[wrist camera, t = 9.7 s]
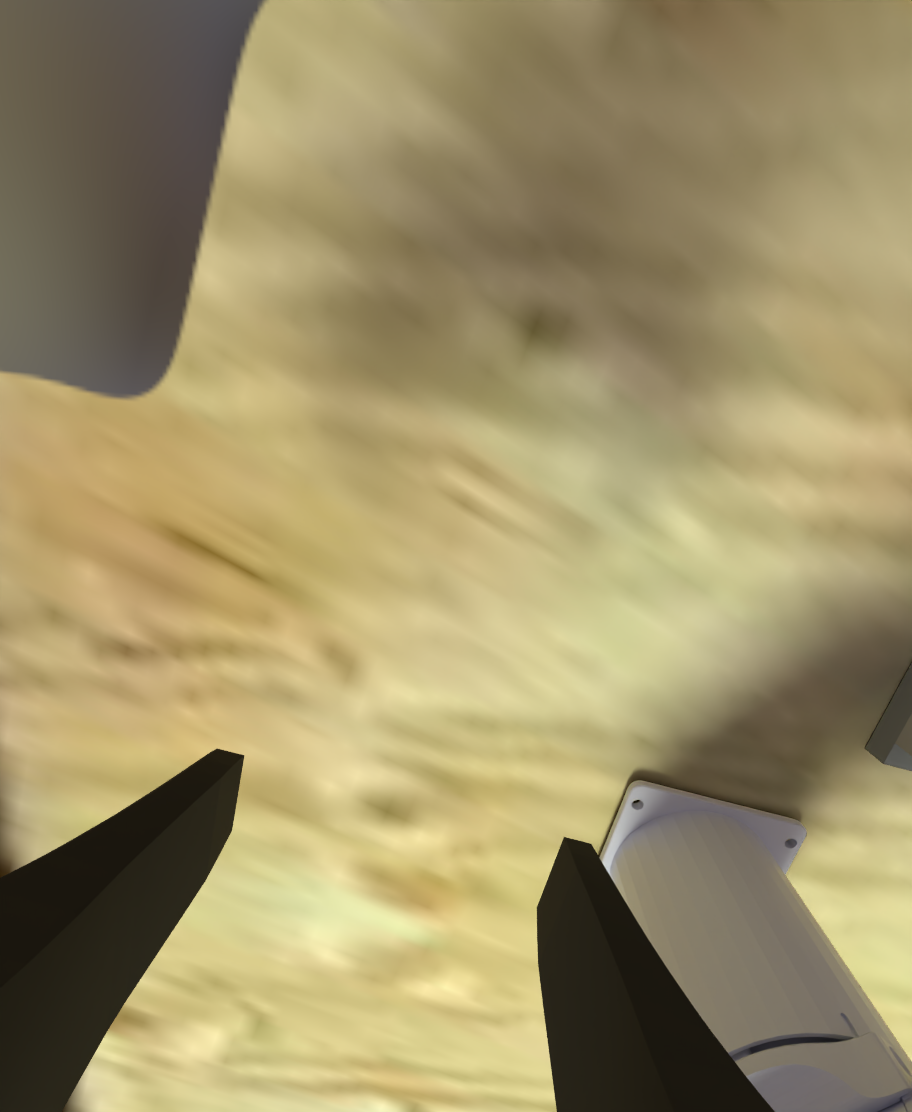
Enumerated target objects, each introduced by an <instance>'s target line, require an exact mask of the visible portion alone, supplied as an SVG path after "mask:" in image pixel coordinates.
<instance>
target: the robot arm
mask: <svg viewBox="0 0 912 1112" xmlns="http://www.w3.org/2000/svg"><path fill="white" fill-rule="evenodd" d="M243 760H244V755H240V754H236V753H232V752H228V751H224V750H221V749H216V750H214V751H212V752H210V753H209V754H207V755H206V756H204V757H203V758H201V759H200V760H198V761H197V762H195V763H194V764H192V765H191V766H189V767H188V768H186V769H185V770H184V771H182V772H181V773H179V774H178V775H176V776H175V777H173V778H172V779H170V780H169V781H167V782H166V783H164V784H163V785H161V786H159V787H158V788H156V789H155V790H153V791H152V792H150V793H149V794H147V795H145V796H144V797H142V798H141V799H139V800H138V801H136V802H134V803H133V804H131V805H130V806H128V807H127V808H125V809H123V810H122V811H120V812H119V813H117V814H115V815H114V816H112V817H110V818H109V819H107V820H105V821H104V822H102V823H100V824H98V825H97V826H95V827H93V828H91V829H90V830H88V831H86V832H85V833H83V834H81V835H79V836H78V837H76V838H74V839H73V840H71V841H69V842H67V843H66V844H64V845H62V846H60V847H58V848H57V849H55V850H53V851H51V852H49V853H47V854H46V855H44V856H42V857H40V858H38V859H36V860H34V861H32V862H30V863H29V864H27V865H25V866H23V867H21V868H19V869H17V870H15V871H13V872H11V873H9V874H7V875H5V876H3V877H1V878H0V1112H62V1110H63V1108H64V1106H65V1105H66V1103H67V1101H68V1099H69V1098H70V1096H71V1094H72V1092H73V1090H74V1089H75V1087H76V1085H77V1083H78V1082H79V1080H80V1078H81V1076H82V1075H83V1073H84V1071H85V1069H86V1068H87V1066H88V1064H89V1062H90V1060H91V1059H92V1057H93V1055H94V1053H95V1052H96V1050H97V1048H98V1046H99V1045H100V1043H101V1041H102V1039H103V1037H104V1036H105V1034H106V1032H107V1031H108V1029H109V1027H110V1026H111V1024H112V1023H113V1021H114V1019H115V1018H116V1016H117V1015H118V1013H119V1011H120V1010H121V1008H122V1006H123V1005H124V1003H125V1002H126V1000H127V999H128V997H129V996H130V994H131V993H132V991H133V990H134V988H135V987H136V985H137V984H138V982H139V981H140V979H141V977H142V976H143V974H144V973H145V971H146V970H147V968H148V967H149V965H150V964H151V962H152V961H153V959H154V958H155V956H156V955H157V953H158V952H159V950H160V949H161V947H162V946H163V944H164V943H165V941H166V940H167V938H168V937H169V935H170V934H171V932H172V931H173V929H174V928H175V926H176V925H177V923H178V922H179V920H180V919H181V917H182V916H183V914H184V913H185V911H186V910H187V908H188V907H189V905H190V904H191V902H192V900H193V899H194V897H195V896H196V894H197V893H198V891H199V890H200V888H201V887H202V885H203V884H204V882H205V880H206V879H207V877H208V875H209V873H210V871H211V869H212V868H213V866H214V864H215V862H216V860H217V858H218V856H219V854H220V853H221V851H222V849H223V847H224V845H225V843H226V841H227V839H228V837H229V835H230V833H231V831H232V827H233V821H234V815H235V809H236V803H237V797H238V790H239V784H240V778H241V772H242V766H243ZM635 800H640V801H639V802H638V803H632V802H633V801H635ZM806 834H807V831H806V828H805V827H804V826H803V825H802V824H801V822H800V821H798V820H796V819H792V818H788V817H785V816H781V815H777V814H773V813H769V812H765V811H761V810H757V809H753V808H749V807H745V806H741V805H737V804H733V803H729V802H725V801H721V800H717V799H713V798H710V797H706V796H702V795H698V794H694V793H690V792H686V791H682V790H678V789H674V788H670V787H666V786H662V785H658V784H654V783H650V782H646V781H641V780H638V781H634V782H632V783H631V784H630V785H629V787H628V789H627V791H626V794H625V796H624V799H623V801H622V804H621V806H620V808H619V811H618V813H617V816H616V818H615V821H614V823H613V826H612V828H611V831H610V833H609V835H608V838H607V840H606V843H605V845H604V848H603V850H602V853H601V855H600V858H599V856H598V855H597V853H596V851H595V850H594V848H593V846H592V845H591V844H589V843H585V842H582V841H578V840H574V839H570V838H566V837H564V839H563V841H562V844H561V847H560V849H559V852H558V854H557V857H556V859H555V862H554V865H553V867H552V870H551V872H550V875H549V878H548V880H547V883H546V885H545V888H544V891H543V893H542V896H541V898H540V901H539V904H538V906H537V942H538V966H539V974H540V983H541V991H542V999H543V1007H544V1015H545V1023H546V1030H547V1038H548V1046H549V1054H550V1061H551V1069H552V1077H553V1085H554V1092H555V1100H556V1108H557V1112H912V1062H911V1060H910V1059H909V1057H908V1056H907V1054H906V1053H905V1051H904V1050H903V1048H902V1047H901V1045H900V1044H899V1042H898V1041H897V1039H896V1038H895V1036H894V1035H893V1033H892V1032H891V1030H890V1029H889V1028H888V1026H887V1025H886V1023H885V1022H884V1020H883V1019H882V1017H881V1016H880V1014H879V1013H878V1011H877V1010H876V1008H875V1007H874V1005H873V1004H872V1002H871V1001H870V999H869V998H868V996H867V995H866V994H865V992H864V991H863V989H862V988H861V986H860V985H859V983H858V982H857V980H856V979H855V977H854V976H853V974H852V973H851V971H850V970H849V968H848V967H847V965H846V964H845V962H844V961H843V960H842V958H841V957H840V955H839V954H838V952H837V951H836V949H835V948H834V946H833V945H832V943H831V942H830V940H829V939H828V937H827V936H826V934H825V933H824V931H823V930H822V928H821V927H820V926H819V924H818V923H817V921H816V920H815V918H814V917H813V915H812V914H811V912H810V911H809V909H808V908H807V906H806V905H805V903H804V902H803V900H802V899H801V897H800V896H799V894H798V893H797V891H796V890H795V889H794V887H793V886H792V884H791V883H790V881H789V880H788V878H787V877H786V875H785V874H786V872H787V871H788V869H789V867H790V865H791V863H792V861H793V859H794V858H795V856H796V854H797V852H798V850H799V848H800V846H801V844H802V843H803V841H804V839H805V837H806ZM788 839H790V840H788ZM786 840H788V841H786Z"/></svg>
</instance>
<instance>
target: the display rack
mask: <svg viewBox="0 0 912 1112" xmlns="http://www.w3.org/2000/svg"><path fill="white" fill-rule="evenodd" d="M865 749H866V750H867V751H869V752H870V753H871V754H872V755H873V756H875V757H876V758H877V759H878V760H879V761H880V762H882V763H883V764H886V765H890V766H893V767H897V768H901V769H905V770H909V771H912V663H911V665H910V667H909V669H908V670H907V672H906V674H905V676H904V678H903V680H902V681H901V683H900V685H899V687H898V689H897V691H896V692H895V694H894V696H893V698H892V700H891V702H890V703H889V705H888V707H887V709H886V711H885V713H884V714H883V716H882V718H881V720H880V722H879V724H878V726H877V727H876V729H875V731H874V733H873V735H872V737H871V738H870V740H869V742H868V744H867V746H866V748H865Z"/></svg>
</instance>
